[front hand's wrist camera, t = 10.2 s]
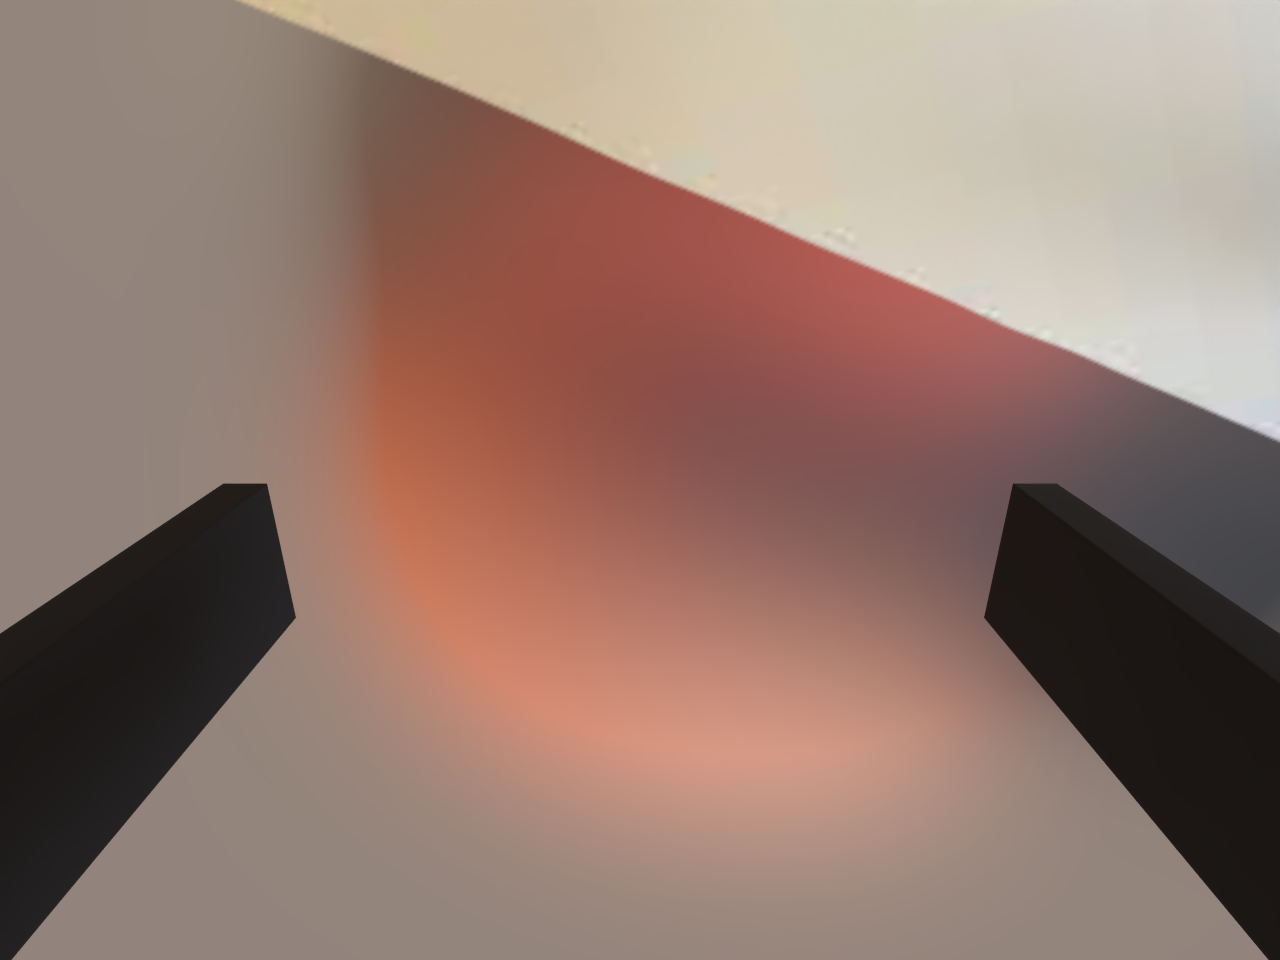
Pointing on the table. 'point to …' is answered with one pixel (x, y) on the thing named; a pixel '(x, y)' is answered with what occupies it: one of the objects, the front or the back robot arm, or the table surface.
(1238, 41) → the table surface
